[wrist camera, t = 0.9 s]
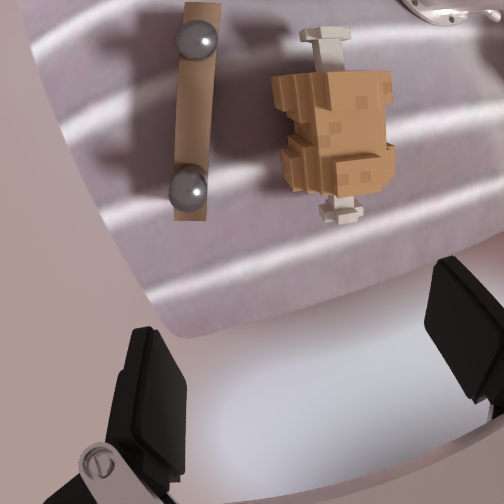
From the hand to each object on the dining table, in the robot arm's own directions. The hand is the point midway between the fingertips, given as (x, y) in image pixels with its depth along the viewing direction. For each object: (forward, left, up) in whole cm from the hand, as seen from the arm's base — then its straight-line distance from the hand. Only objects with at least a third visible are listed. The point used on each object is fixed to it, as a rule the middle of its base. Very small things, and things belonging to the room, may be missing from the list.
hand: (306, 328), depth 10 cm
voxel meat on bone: (-8, -4, -26) cm, 27 cm away
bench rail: (+5, -4, -26) cm, 26 cm away
